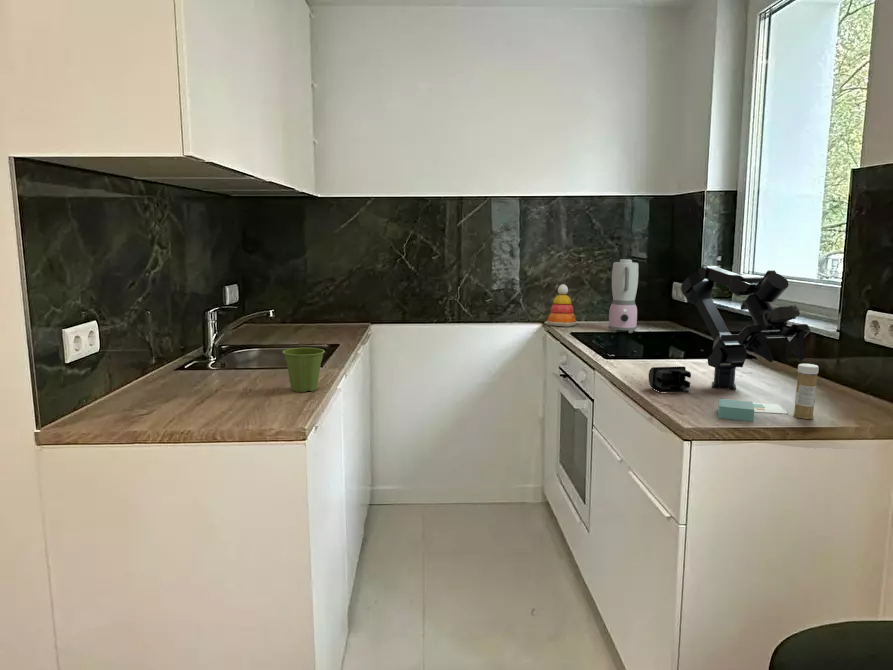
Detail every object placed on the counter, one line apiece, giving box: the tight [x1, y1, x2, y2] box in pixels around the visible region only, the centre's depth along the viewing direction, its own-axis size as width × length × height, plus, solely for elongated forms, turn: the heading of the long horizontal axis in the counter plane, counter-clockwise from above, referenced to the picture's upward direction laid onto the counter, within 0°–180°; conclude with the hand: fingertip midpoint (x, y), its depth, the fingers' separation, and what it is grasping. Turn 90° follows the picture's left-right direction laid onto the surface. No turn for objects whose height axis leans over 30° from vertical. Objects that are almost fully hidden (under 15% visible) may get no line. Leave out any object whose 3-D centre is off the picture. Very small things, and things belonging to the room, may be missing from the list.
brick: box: [717, 398, 755, 422], centre depth 171 cm, size 8×8×3 cm
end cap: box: [648, 366, 692, 393], centre depth 197 cm, size 10×7×7 cm
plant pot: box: [282, 347, 326, 393], centre depth 193 cm, size 12×12×11 cm
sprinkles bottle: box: [793, 363, 819, 420], centre depth 169 cm, size 5×5×14 cm
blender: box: [608, 258, 639, 334], centre depth 302 cm, size 16×12×32 cm
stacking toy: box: [546, 283, 578, 328], centre depth 319 cm, size 14×14×20 cm
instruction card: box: [753, 402, 789, 415], centre depth 178 cm, size 9×12×1 cm
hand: (787, 360), depth 175 cm, fingers open, 9 cm apart
